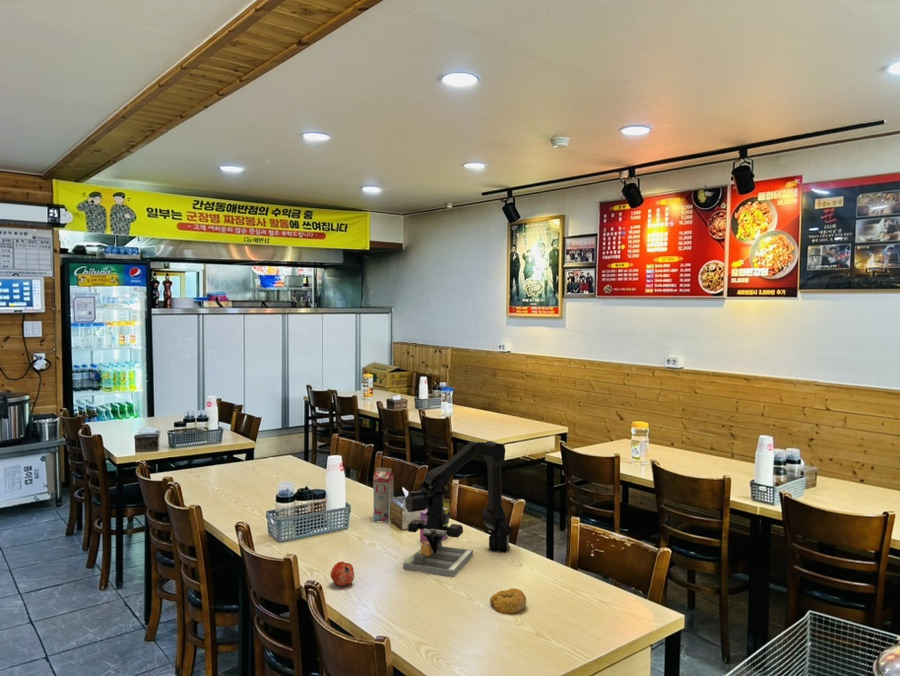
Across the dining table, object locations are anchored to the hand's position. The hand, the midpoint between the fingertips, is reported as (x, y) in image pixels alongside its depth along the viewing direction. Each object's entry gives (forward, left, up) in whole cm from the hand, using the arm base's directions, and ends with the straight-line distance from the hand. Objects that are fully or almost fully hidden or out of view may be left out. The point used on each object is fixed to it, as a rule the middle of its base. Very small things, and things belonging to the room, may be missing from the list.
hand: (435, 552), depth 221 cm
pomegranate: (+21, +28, -4) cm, 35 cm away
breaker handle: (+3, 0, -1) cm, 3 cm away
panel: (-1, 0, -3) cm, 4 cm away
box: (+9, -20, -4) cm, 22 cm away
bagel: (-33, +24, -4) cm, 41 cm away
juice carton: (+38, -35, -4) cm, 51 cm away
